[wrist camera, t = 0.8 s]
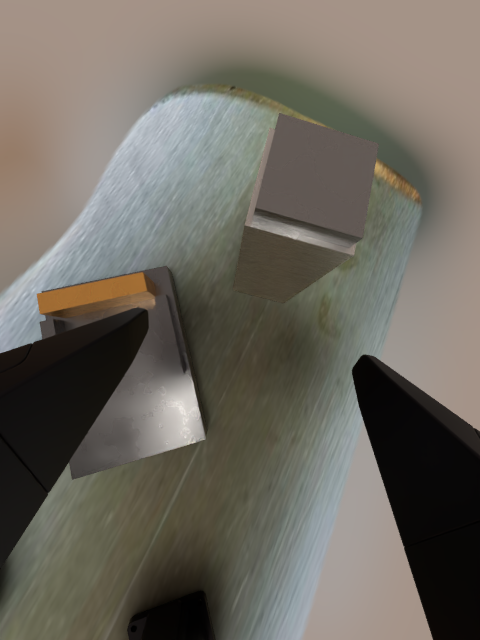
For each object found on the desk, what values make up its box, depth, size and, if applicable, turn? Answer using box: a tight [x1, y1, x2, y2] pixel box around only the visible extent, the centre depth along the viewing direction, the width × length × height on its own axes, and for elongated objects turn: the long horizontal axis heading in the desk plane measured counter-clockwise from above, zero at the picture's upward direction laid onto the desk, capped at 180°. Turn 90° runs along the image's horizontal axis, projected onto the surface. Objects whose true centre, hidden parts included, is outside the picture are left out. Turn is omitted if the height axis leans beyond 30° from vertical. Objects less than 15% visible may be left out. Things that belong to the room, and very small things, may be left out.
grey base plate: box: [37, 266, 207, 480], centre depth 18 cm, size 16×11×4 cm
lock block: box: [233, 113, 379, 303], centre depth 16 cm, size 6×6×13 cm
